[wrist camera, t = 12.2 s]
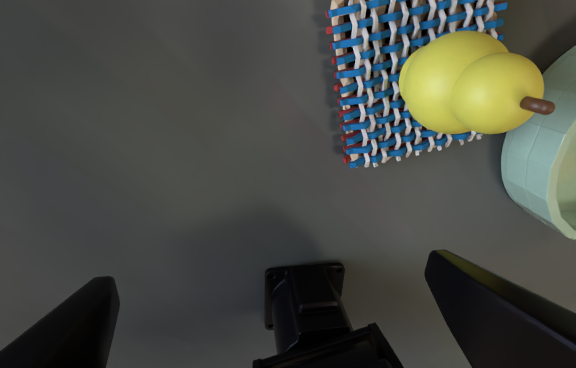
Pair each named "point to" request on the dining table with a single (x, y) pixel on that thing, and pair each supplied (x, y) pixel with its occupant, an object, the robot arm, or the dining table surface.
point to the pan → (547, 153)
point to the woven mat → (393, 70)
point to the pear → (471, 85)
